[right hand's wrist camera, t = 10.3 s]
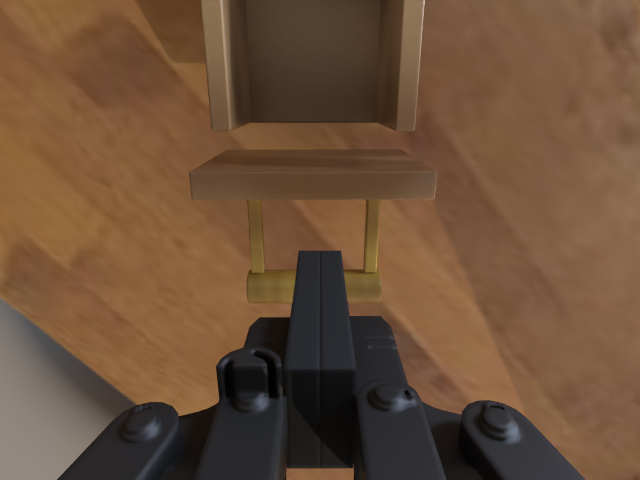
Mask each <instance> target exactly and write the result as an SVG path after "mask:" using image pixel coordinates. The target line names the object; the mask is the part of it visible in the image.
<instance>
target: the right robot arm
mask: <svg viewBox="0 0 640 480" xmlns="http://www.w3.org/2000/svg"><path fill="white" fill-rule="evenodd" d="M216 371H217V380H218V389H219V403H217V404H216V405H214V406H212V407H210V408H208V409H205V410H202V411H199V412H195V413H191V414H187V415H183V416H179V417H178V413H177V411H176V410H175V409H174V408H173V406H170V405H168V404H165V403H163V402H149V403H145V404H140V405H137V406H134V407H133V408H130V409H128V410H126V411H124V412H123V413H122V414H120V415H119V416H118V417H117V418H115V419H114V420H113V421H112V422H111V423H110V424H109V425H108V426H107V427H106V428H105V430H104V431H103V432H102V433H101V434H100V435H99V436H98V437H97V438H96V439H95V440H94V441H93V442H92V443H91V444H90V445H89V446H88V447H87V449H86V450H85V451H84V452H83V453H82V454H81V455H80V456H79V457H78V458H77V459H76V460H75V461H74V462H73V464H71V466H70V467H69V468H68V469H67V470H66V471H65V472H64V473H63V474H62V475H61V476H60V477H59V478H58V479H57V480H286V468H353V466H354V480H585V479H584V478H583V477H582V476H581V475H580V473H579V472H578V471H577V470H576V469H575V468H574V467H573V466H572V465H571V464H570V463H569V462H568V461H567V460H566V459H565V458H564V457H563V456H562V455H561V454H560V452H559V451H558V450H557V449H556V448H555V447H554V446H553V445H552V444H551V443H550V442H549V441H548V440H547V439H546V438H545V437H544V436H543V435H542V434H541V432H540V431H539V430H538V429H537V428H536V427H535V426H534V425H533V424H532V423H531V422H530V421H529V420H528V419H527V418H526V417H525V416H523V415H522V414H521V413H520V412H518V411H517V410H516V409H514V408H512V407H509V406H507V405H505V404H503V403H499V402H494V401H490V400H487V401H476V402H473V403H471V404H468V405H467V406H466V408H465V409H464V410H463V411H462V415H460V414H456V413H451V412H447V411H443V410H440V409H437V408H434V407H431V406H429V405H428V404H426V403H424V402H422V401H421V399H420V397H419V396H418V394H417V392H416V391H415V390H414V389H413V388H412V387H410V386H409V385H408V383H407V380H406V376H405V373H404V370H403V366H402V363H401V359H400V356H399V353H398V349H397V346H396V343H395V339H394V336H393V333H392V329H391V326H390V325H389V324H388V323H387V322H386V321H385V320H384V319H383V318H382V317H381V316H349V309H348V301H347V293H346V286H345V278H344V270H343V263H342V255H341V251H299V255H298V263H297V270H296V278H295V286H294V293H293V301H292V309H291V316H290V317H260V318H259V319H258V320H257V321H255V322H254V323H253V324H252V325H251V326H250V328H249V331H248V334H247V338H246V341H245V344H244V348H241V349H238V350H235V351H233V352H230V353H229V354H227V355H226V356H224V357H223V358H221V360H220V361H219V363H218V364H217V366H216Z"/></svg>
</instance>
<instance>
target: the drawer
mask: <svg viewBox="0 0 640 480" xmlns="http://www.w3.org/2000/svg"><path fill="white" fill-rule="evenodd" d="M424 1H425V0H201V12H202V23H203V35H204V47H205V58H206V70H207V82H208V93H209V105H210V117H211V129H212V131H231V130H233V129H236V128H238V127H241V126H243V125H246V124H249V123H379V124H381V125H383V126H386V127H388V128H391V129H393V130H395V131H414V130H415V121H416V107H417V94H418V81H419V68H420V54H421V41H422V28H423V15H424ZM189 177H190V186H191V195H192V200H247V202H248V219H249V235H250V252H251V268H252V270H249V272H248V277H247V298H248V302H249V303H250V304H256V303H292V301H293V293H294V286H295V278H296V270H265V259H264V238H263V218H262V200H366V215H365V241H364V266H363V268H364V269H347V270H344V278H345V286H346V293H347V301H348V303H379V302H380V300H381V275H380V271H379V270H378V269H377V251H378V232H379V212H380V200H401V199H434V198H435V191H436V180H437V172H436V171H435V170H433V169H432V168H430V167H428V166H427V165H425V164H423V163H422V162H420V161H418V160H417V159H415V158H414V157H412V156H410V155H409V154H407V153H405V152H404V151H402V150H226V151H224V152H222V153H221V154H219V155H217V156H216V157H214V158H212V159H211V160H209V161H207V162H206V163H204V164H202V165H201V166H199V167H197V168H196V169H194V170H192V171H191V172H189Z"/></svg>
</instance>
